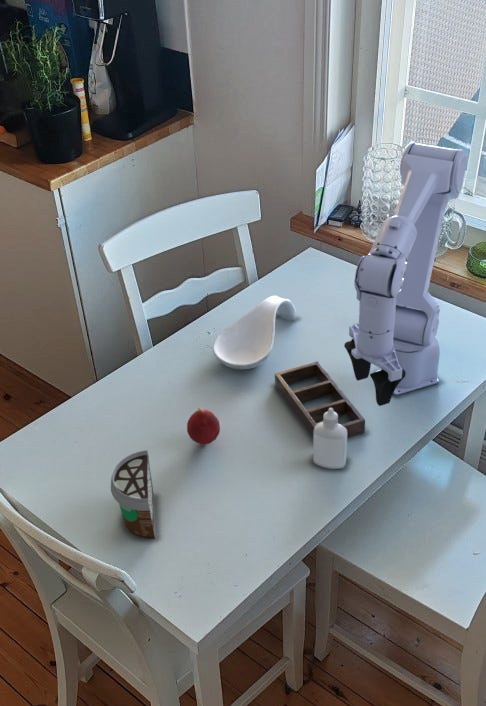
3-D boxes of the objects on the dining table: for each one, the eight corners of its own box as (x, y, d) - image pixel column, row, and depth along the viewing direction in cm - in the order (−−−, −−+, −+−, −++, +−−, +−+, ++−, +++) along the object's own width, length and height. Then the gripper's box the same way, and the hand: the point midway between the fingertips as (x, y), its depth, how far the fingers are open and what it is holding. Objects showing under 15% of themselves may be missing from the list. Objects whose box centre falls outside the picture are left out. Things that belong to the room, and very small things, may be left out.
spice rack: (317, 373, 179) (318, 361, 177) (364, 432, 166) (365, 420, 163) (274, 386, 177) (274, 373, 175) (318, 447, 163) (319, 434, 161)
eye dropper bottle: (332, 476, 158) (334, 422, 150) (309, 460, 161) (309, 407, 153) (350, 463, 160) (352, 410, 152) (326, 448, 163) (327, 395, 155)
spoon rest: (254, 385, 177) (253, 354, 172) (202, 368, 182) (199, 338, 177) (311, 322, 192) (311, 292, 187) (261, 308, 197) (260, 279, 192)
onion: (225, 435, 167) (222, 401, 161) (214, 456, 163) (211, 421, 157) (195, 430, 168) (192, 395, 163) (184, 450, 164) (179, 415, 159)
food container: (118, 495, 157) (109, 451, 150) (154, 491, 157) (147, 447, 150) (116, 548, 148) (107, 505, 141) (155, 545, 148) (147, 501, 141)
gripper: (333, 308, 153) (332, 373, 162) (376, 355, 143) (372, 421, 152) (371, 297, 154) (368, 362, 164) (416, 343, 144) (409, 409, 154)
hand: (372, 390), depth 158 cm, fingers open, 7 cm apart
